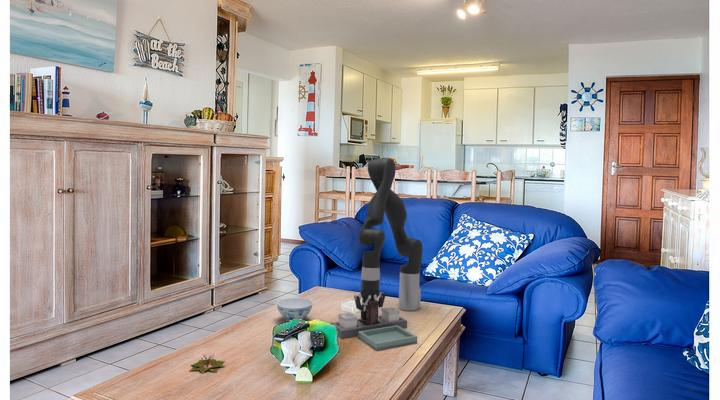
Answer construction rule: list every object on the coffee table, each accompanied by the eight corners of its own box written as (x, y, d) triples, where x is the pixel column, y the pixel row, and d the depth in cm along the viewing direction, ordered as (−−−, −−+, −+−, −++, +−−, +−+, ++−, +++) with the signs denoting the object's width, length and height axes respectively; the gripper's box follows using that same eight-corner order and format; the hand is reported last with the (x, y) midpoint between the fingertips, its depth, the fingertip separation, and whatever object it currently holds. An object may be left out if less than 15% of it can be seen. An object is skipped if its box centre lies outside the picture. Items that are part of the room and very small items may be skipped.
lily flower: (196, 359, 163) (196, 346, 163) (231, 361, 163) (231, 347, 163) (182, 375, 151) (182, 360, 151) (219, 376, 151) (219, 362, 151)
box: (378, 329, 196) (378, 300, 195) (369, 332, 193) (370, 302, 192) (368, 325, 200) (369, 297, 200) (360, 327, 198) (360, 299, 197)
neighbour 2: (391, 322, 205) (391, 306, 205) (399, 327, 200) (399, 310, 199) (380, 324, 203) (381, 308, 202) (388, 328, 198) (389, 312, 197)
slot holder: (393, 320, 208) (393, 313, 208) (406, 327, 199) (407, 320, 199) (330, 330, 194) (330, 322, 194) (341, 338, 185) (341, 331, 185)
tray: (396, 331, 195) (397, 325, 195) (417, 342, 183) (417, 336, 182) (357, 337, 186) (358, 331, 186) (376, 350, 174) (376, 344, 174)
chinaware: (319, 321, 205) (319, 303, 204) (291, 329, 194) (292, 310, 193) (296, 312, 215) (297, 295, 214) (269, 320, 204) (269, 302, 203)
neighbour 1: (349, 329, 196) (350, 312, 195) (356, 334, 190) (357, 316, 190) (338, 331, 193) (338, 314, 193) (345, 336, 188) (345, 318, 187)
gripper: (380, 274, 202) (379, 313, 203) (350, 277, 195) (349, 318, 196) (390, 278, 195) (389, 319, 196) (359, 281, 188) (358, 323, 190)
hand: (369, 318), depth 196 cm, fingers closed on box, 4 cm apart
